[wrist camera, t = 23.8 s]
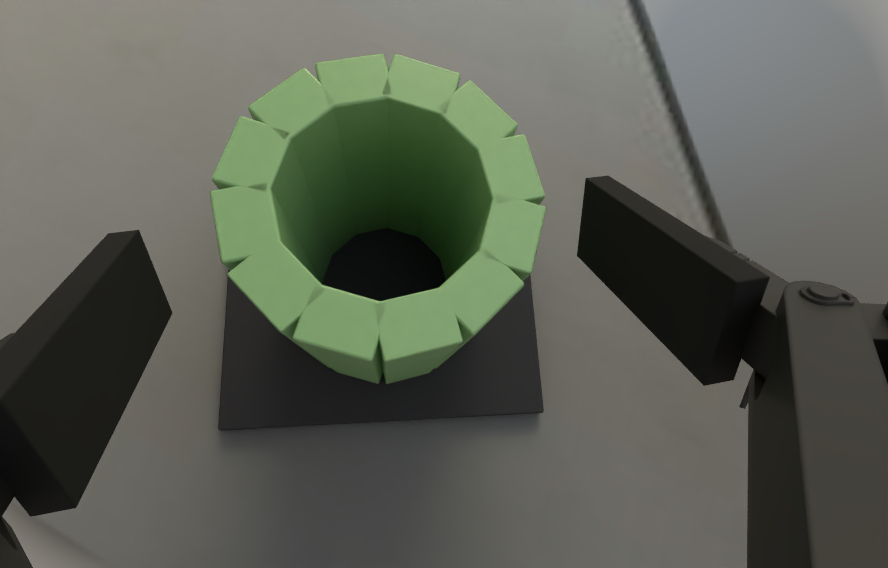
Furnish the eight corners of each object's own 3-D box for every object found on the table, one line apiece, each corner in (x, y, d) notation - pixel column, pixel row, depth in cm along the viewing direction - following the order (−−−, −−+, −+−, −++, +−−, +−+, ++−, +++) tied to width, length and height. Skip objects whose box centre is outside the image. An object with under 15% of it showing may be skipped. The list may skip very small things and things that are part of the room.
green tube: (249, 283, 22) (139, 181, 12) (389, 168, 24) (390, 4, 14) (381, 424, 21) (375, 435, 11) (514, 290, 23) (605, 204, 13)
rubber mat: (222, 429, 20) (217, 430, 20) (238, 173, 23) (234, 168, 23) (540, 412, 22) (544, 412, 22) (517, 175, 25) (520, 170, 25)
